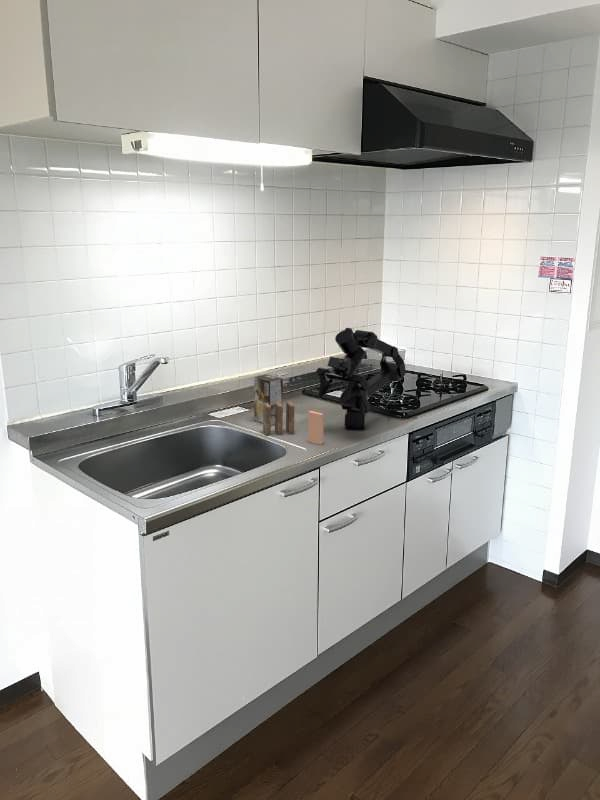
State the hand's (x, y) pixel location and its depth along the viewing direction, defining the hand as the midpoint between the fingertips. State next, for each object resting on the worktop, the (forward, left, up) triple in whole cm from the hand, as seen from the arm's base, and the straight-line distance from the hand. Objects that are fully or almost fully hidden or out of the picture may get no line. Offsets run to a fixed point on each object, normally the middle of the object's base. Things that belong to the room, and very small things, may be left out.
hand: (330, 400), depth 215 cm
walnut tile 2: (+13, -4, -13) cm, 19 cm away
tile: (+4, +6, -13) cm, 15 cm away
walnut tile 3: (+17, -3, -13) cm, 22 cm away
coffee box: (+22, -15, -13) cm, 30 cm away
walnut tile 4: (+21, -1, -13) cm, 25 cm away
